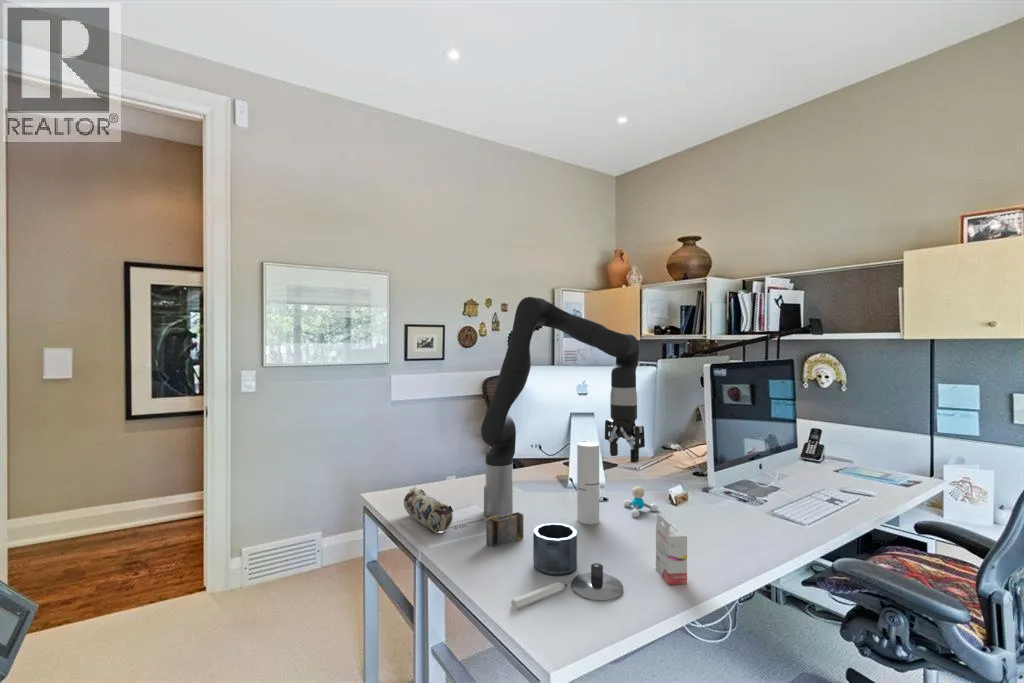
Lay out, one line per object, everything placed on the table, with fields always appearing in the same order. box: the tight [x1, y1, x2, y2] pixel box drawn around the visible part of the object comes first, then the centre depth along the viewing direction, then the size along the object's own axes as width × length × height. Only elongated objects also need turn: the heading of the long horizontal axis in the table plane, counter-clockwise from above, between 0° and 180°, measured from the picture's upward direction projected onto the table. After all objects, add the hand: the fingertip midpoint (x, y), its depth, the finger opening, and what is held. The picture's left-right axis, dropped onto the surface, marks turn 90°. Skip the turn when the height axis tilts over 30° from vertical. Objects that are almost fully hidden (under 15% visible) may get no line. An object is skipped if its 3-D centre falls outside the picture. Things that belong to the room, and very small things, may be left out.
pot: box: [532, 522, 578, 577], centre depth 126 cm, size 11×14×9 cm
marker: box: [510, 581, 569, 611], centre depth 111 cm, size 3×2×16 cm
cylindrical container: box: [576, 441, 600, 525], centre depth 158 cm, size 7×7×25 cm
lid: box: [570, 562, 624, 602], centre depth 115 cm, size 12×12×6 cm
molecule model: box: [623, 485, 659, 518], centre depth 167 cm, size 12×12×9 cm
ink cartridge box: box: [655, 512, 688, 586], centre depth 120 cm, size 9×5×15 cm, turn 5°
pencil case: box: [403, 486, 454, 534], centre depth 155 cm, size 22×8×10 cm, turn 35°
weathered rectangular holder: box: [485, 511, 524, 549], centre depth 141 cm, size 11×3×10 cm, turn 125°
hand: (624, 458), depth 139 cm, fingers open, 8 cm apart
